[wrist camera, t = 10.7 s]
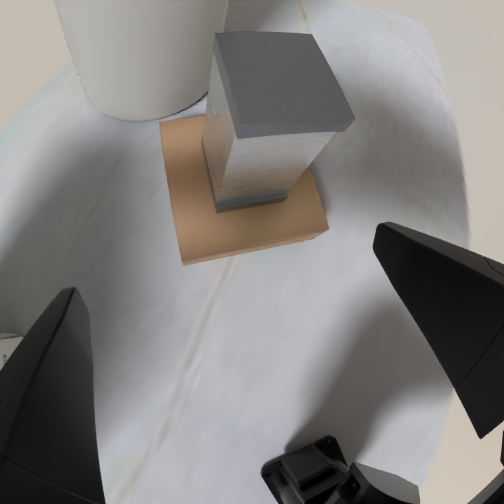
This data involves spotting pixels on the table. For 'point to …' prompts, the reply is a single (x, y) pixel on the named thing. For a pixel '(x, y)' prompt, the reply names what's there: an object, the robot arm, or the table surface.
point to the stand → (232, 222)
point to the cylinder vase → (142, 52)
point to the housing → (267, 115)
